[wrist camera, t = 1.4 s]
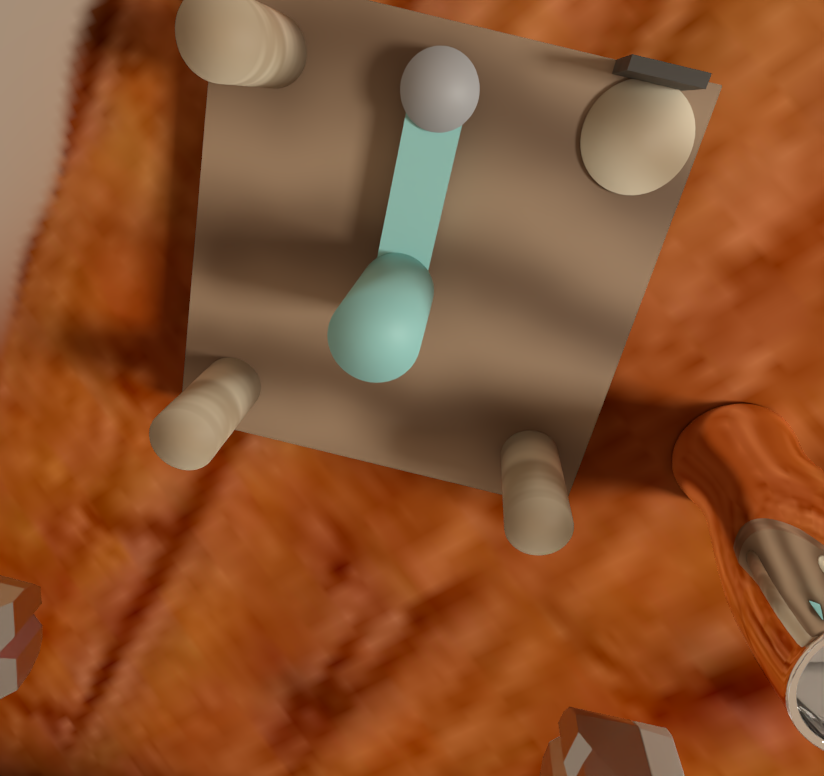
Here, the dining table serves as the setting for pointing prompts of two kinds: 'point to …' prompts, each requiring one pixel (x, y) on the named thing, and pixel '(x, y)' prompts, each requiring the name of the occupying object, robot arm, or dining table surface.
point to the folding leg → (407, 223)
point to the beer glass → (765, 544)
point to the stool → (452, 254)
